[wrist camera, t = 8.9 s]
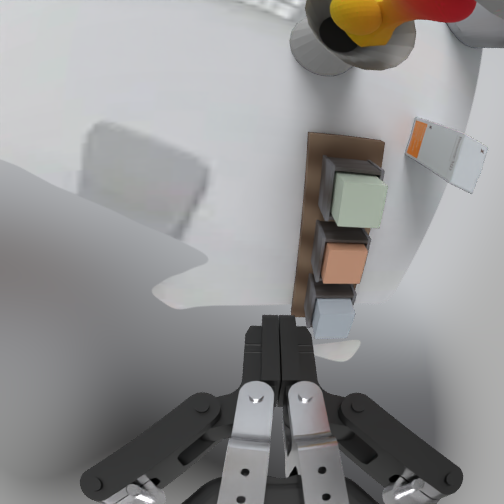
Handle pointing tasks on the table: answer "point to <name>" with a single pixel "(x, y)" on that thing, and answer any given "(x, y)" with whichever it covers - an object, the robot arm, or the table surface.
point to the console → (328, 213)
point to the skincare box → (447, 153)
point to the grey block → (332, 317)
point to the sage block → (357, 199)
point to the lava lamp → (370, 31)
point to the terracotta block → (343, 263)
